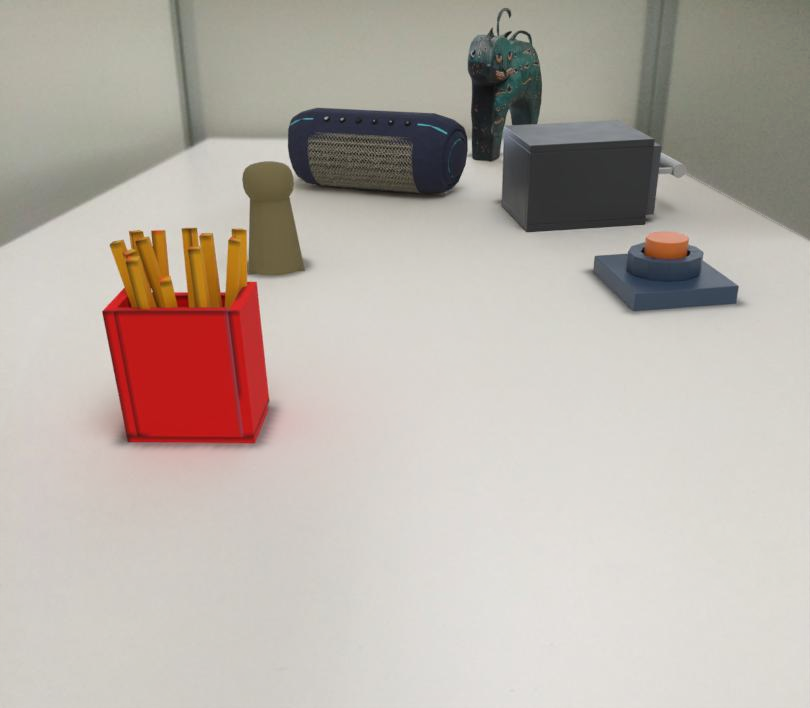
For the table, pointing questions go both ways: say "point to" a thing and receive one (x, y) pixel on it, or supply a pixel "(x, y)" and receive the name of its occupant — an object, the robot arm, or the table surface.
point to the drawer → (661, 166)
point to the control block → (664, 280)
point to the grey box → (576, 175)
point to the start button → (666, 245)
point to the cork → (271, 220)
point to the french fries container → (187, 343)
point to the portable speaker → (377, 150)
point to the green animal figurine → (501, 87)
